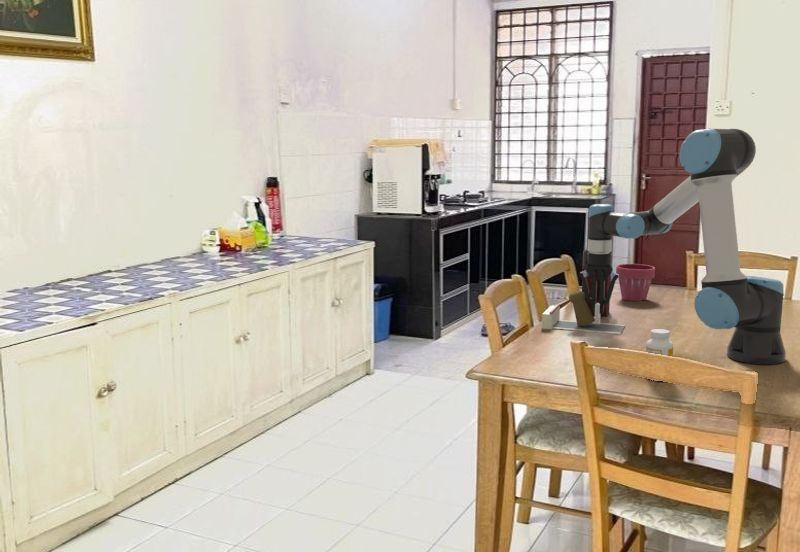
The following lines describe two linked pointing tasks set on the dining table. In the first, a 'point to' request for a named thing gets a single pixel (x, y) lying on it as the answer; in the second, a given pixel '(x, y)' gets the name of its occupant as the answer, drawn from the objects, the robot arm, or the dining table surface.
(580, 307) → the cork
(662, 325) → the dining table surface
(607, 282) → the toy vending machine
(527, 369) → the dining table surface
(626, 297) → the plant pot
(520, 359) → the dining table surface
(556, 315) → the stop block
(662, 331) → the supplement bottle
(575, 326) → the mat
